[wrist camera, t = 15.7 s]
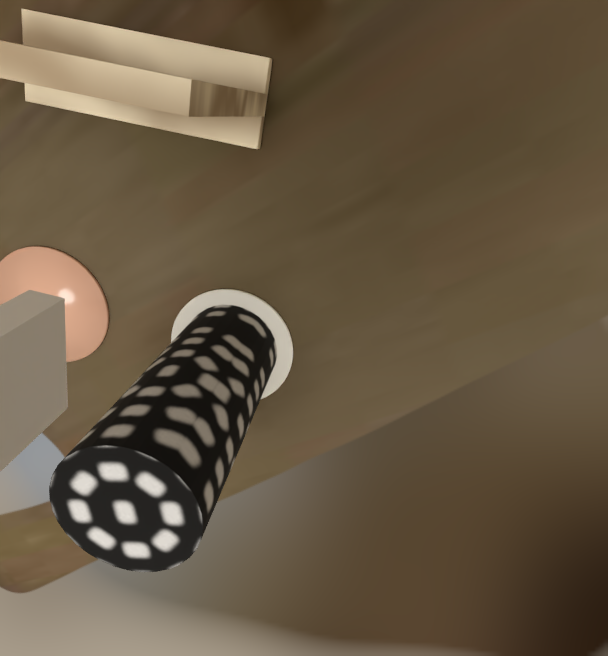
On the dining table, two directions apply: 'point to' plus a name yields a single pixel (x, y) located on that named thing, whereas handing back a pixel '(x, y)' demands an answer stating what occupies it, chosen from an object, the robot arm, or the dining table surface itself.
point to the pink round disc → (60, 293)
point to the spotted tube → (166, 445)
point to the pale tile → (259, 309)
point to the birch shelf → (140, 78)
